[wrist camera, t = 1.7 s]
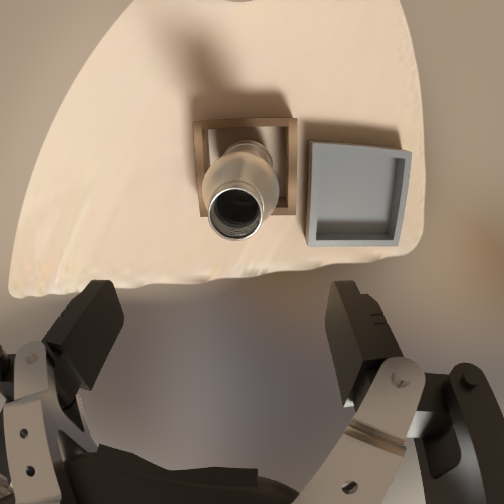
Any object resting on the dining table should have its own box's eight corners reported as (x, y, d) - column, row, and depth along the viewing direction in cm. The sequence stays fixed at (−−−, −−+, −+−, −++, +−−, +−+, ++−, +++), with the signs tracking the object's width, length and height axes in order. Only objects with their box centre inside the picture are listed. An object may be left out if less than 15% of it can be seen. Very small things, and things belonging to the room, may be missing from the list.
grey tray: (308, 140, 33) (312, 142, 31) (401, 149, 33) (412, 152, 30) (304, 237, 40) (308, 247, 37) (390, 237, 39) (397, 246, 37)
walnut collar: (199, 121, 32) (192, 121, 29) (293, 118, 32) (297, 118, 28) (205, 206, 38) (200, 216, 35) (292, 204, 38) (295, 215, 34)
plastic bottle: (221, 185, 37) (186, 257, 19) (224, 136, 33) (185, 160, 16) (269, 189, 37) (279, 265, 19) (274, 139, 34) (292, 167, 16)
